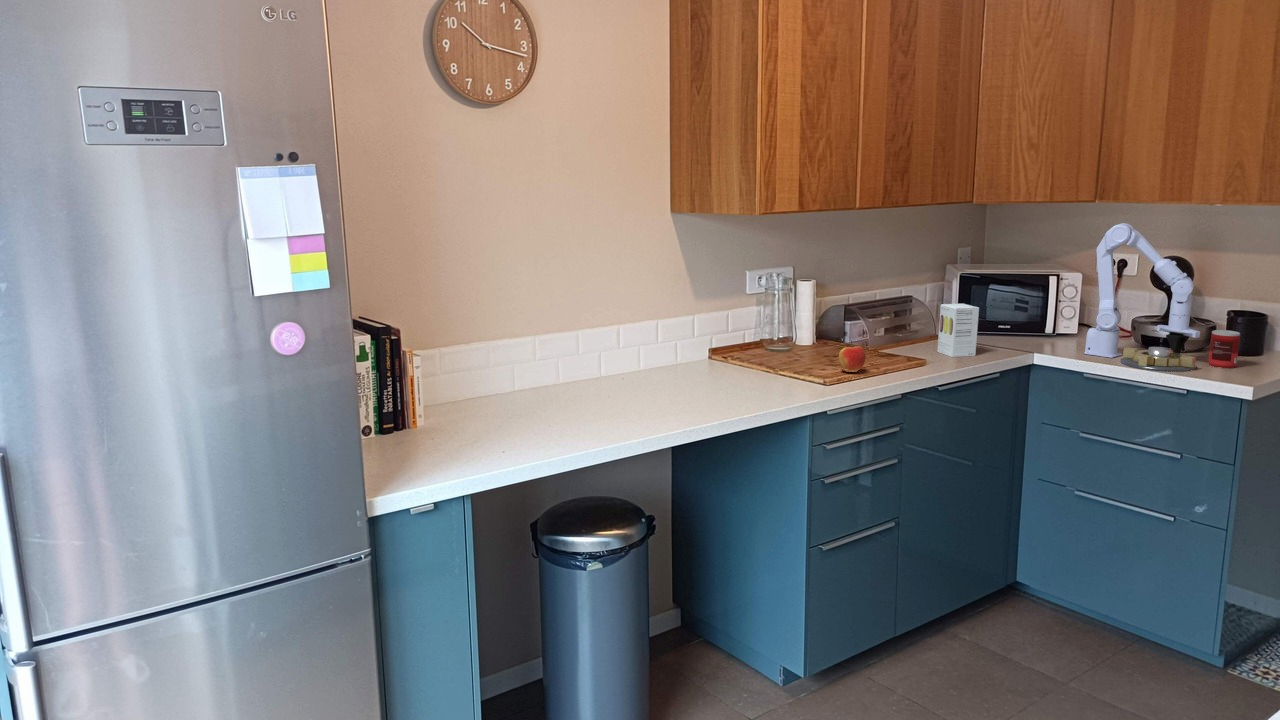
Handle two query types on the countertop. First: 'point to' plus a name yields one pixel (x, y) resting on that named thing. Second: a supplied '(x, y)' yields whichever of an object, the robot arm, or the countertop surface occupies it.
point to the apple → (852, 358)
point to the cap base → (1156, 353)
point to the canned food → (1224, 348)
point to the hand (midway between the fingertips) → (1175, 356)
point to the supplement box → (958, 330)
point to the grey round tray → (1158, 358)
